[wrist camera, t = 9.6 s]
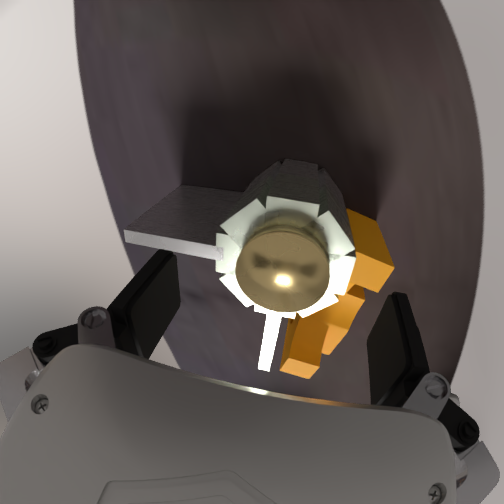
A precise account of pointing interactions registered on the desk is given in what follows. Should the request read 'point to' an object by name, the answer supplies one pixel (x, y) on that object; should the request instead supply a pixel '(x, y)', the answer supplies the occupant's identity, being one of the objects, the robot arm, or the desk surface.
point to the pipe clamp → (338, 302)
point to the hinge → (254, 228)
